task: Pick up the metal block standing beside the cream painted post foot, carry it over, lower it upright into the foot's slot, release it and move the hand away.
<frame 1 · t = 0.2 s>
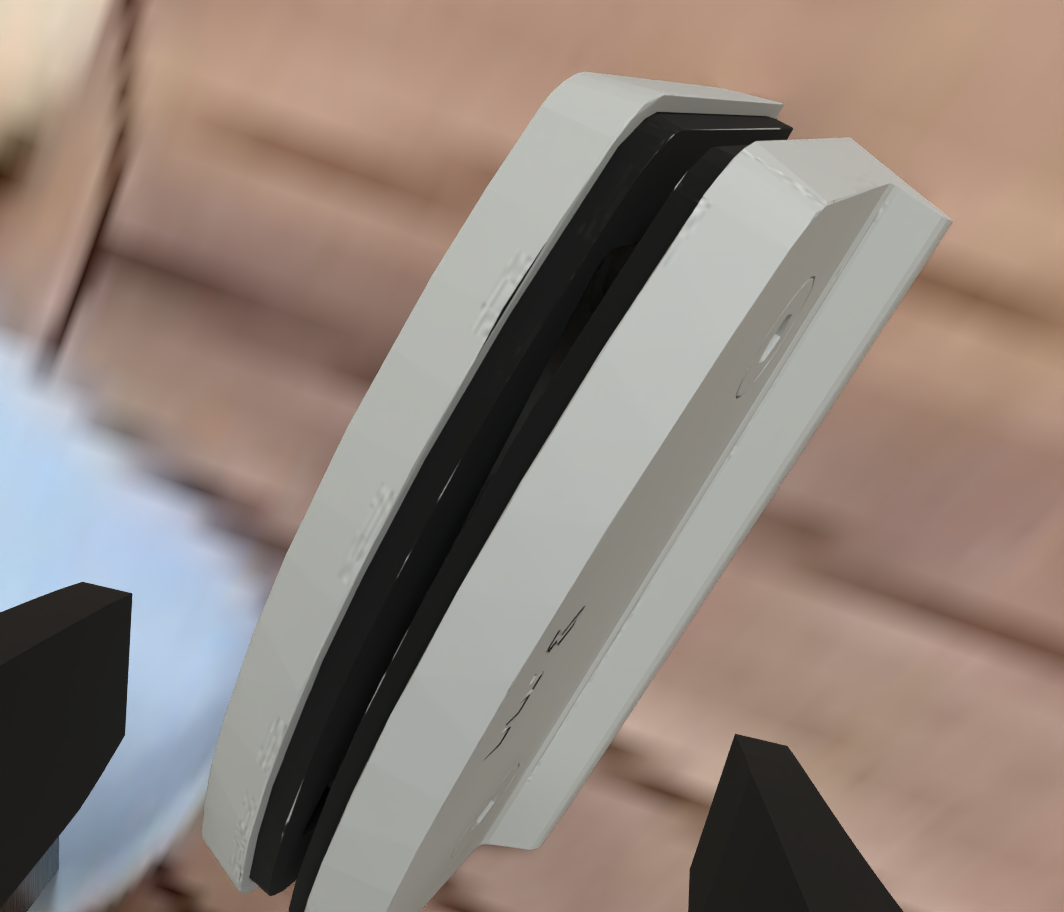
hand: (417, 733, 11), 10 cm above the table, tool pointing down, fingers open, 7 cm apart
metal block: (32, 790, 26), on the table
grey and black device: (574, 470, 21), on the table
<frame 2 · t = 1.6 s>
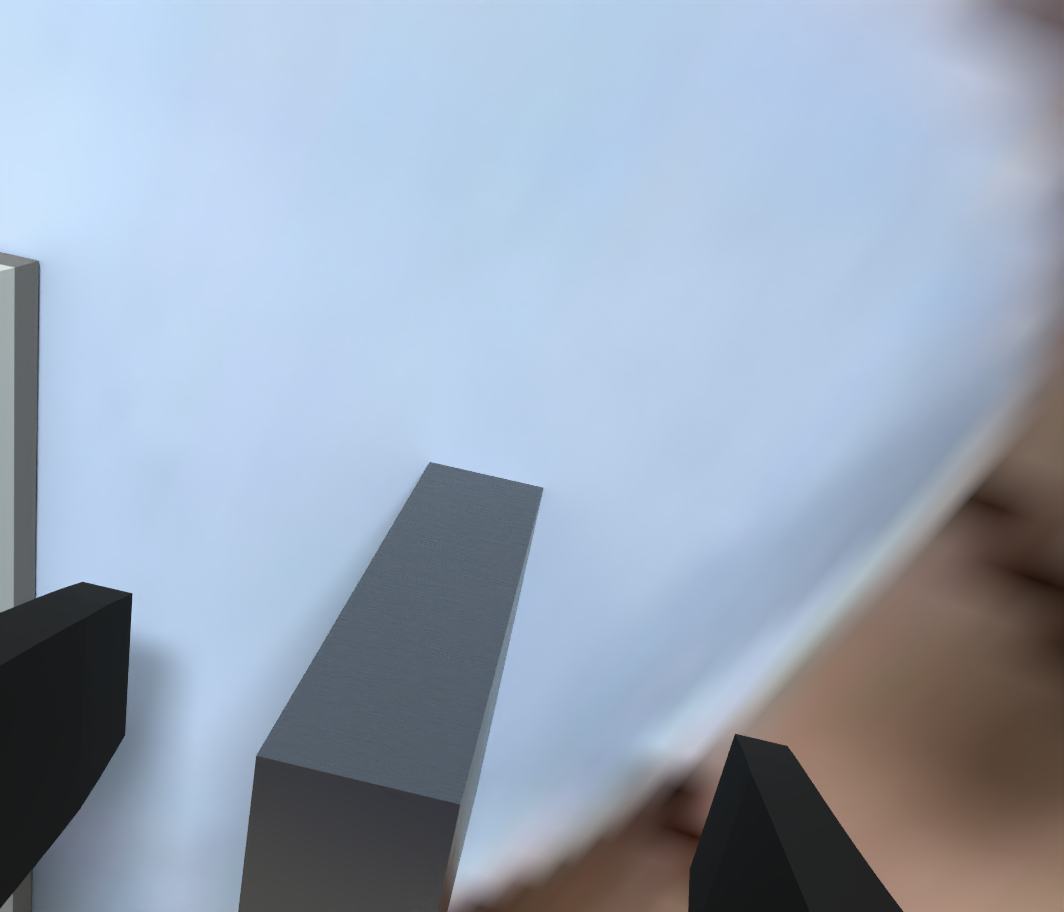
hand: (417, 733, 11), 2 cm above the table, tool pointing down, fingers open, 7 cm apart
metal block: (454, 638, 13), on the table
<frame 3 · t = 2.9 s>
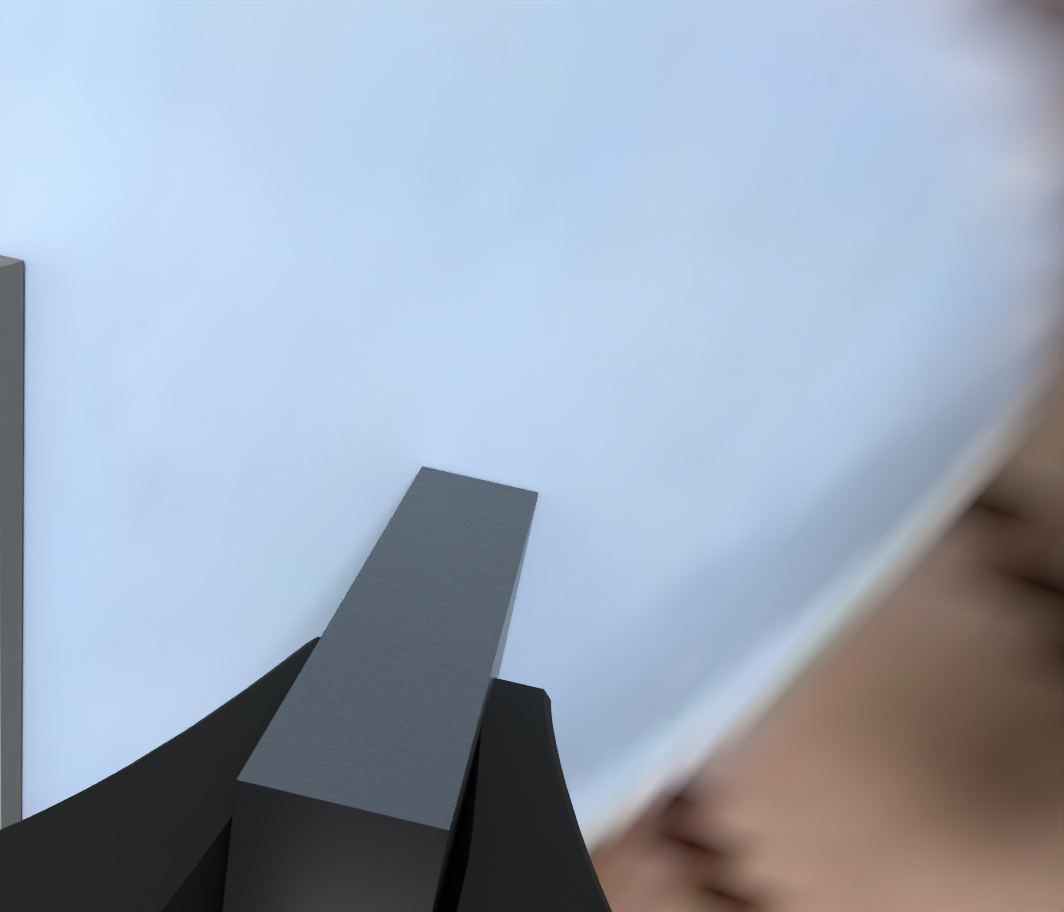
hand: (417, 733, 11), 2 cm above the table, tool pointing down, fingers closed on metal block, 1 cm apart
metal block: (447, 646, 13), on the table, touching gripper
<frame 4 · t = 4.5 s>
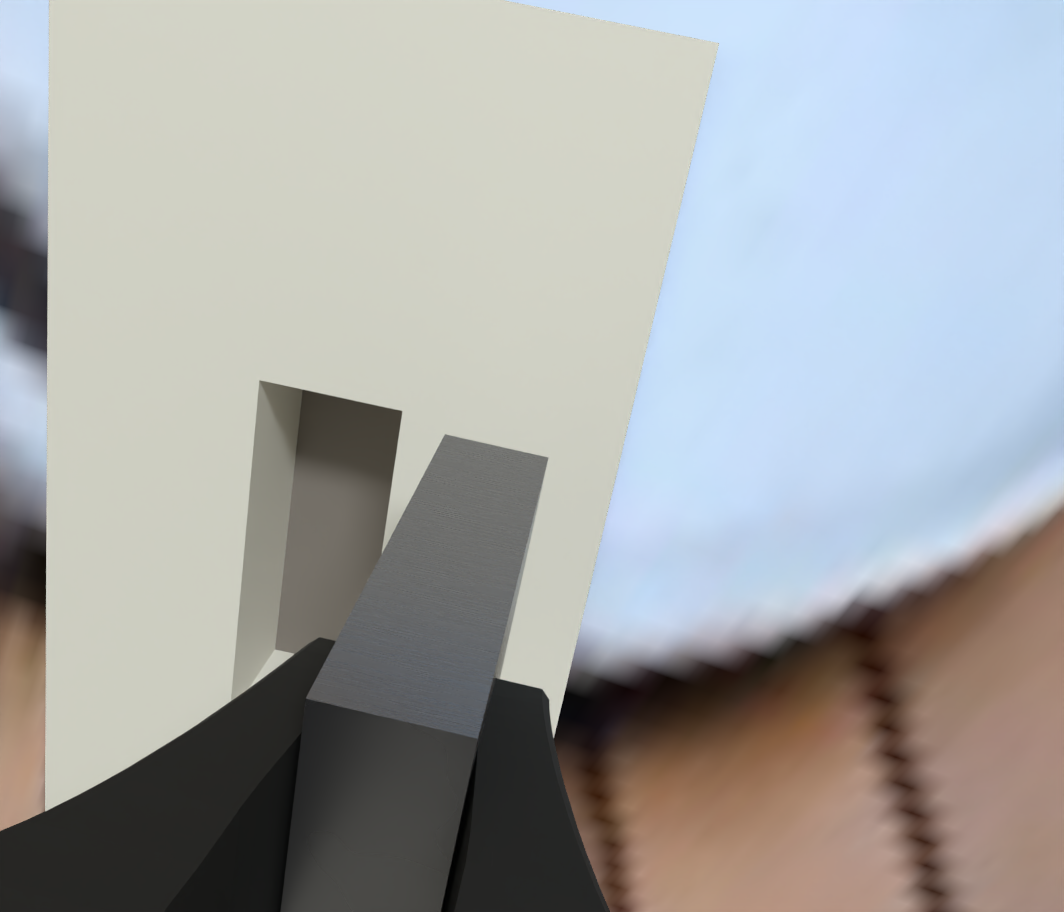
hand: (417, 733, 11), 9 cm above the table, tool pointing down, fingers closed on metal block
post foot: (355, 510, 20), on the table
metal block: (467, 593, 15), point 5 cm above the table, touching gripper
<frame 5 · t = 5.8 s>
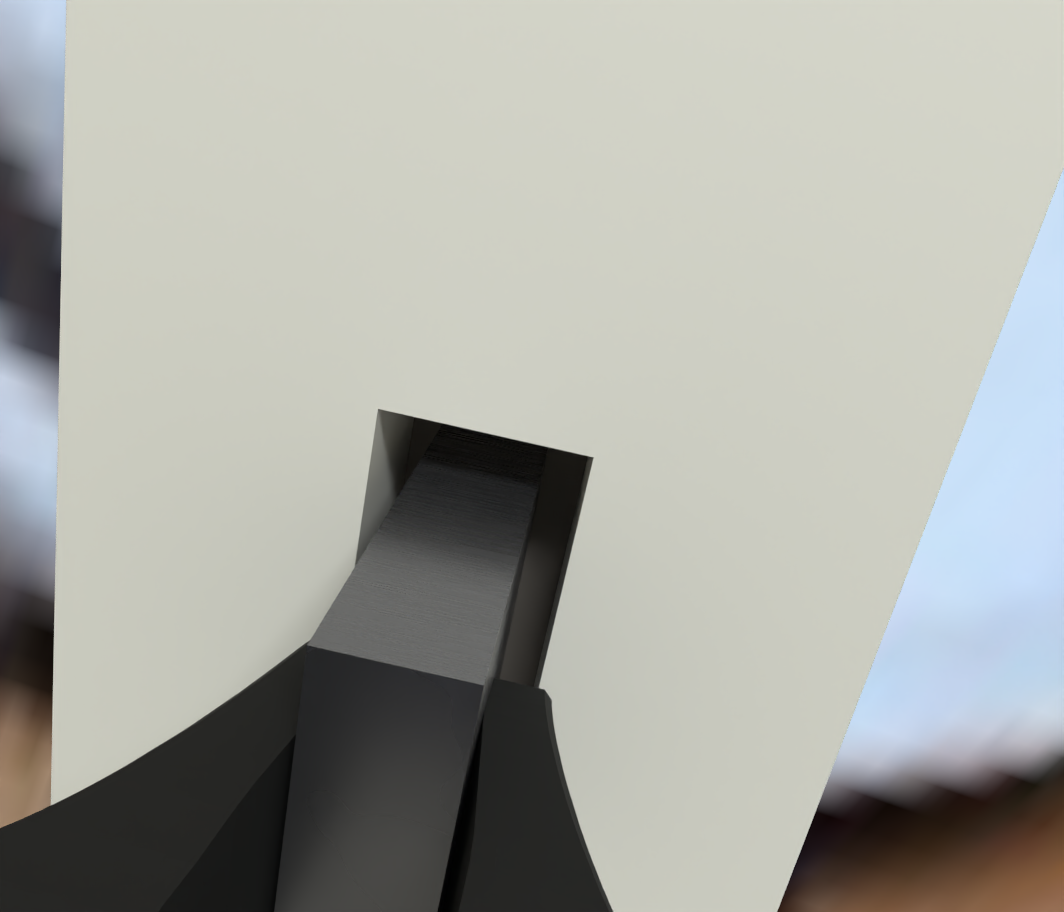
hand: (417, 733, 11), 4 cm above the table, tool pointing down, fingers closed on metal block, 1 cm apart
post foot: (475, 578, 15), on the table
metal block: (468, 584, 15), resting on post foot, touching gripper
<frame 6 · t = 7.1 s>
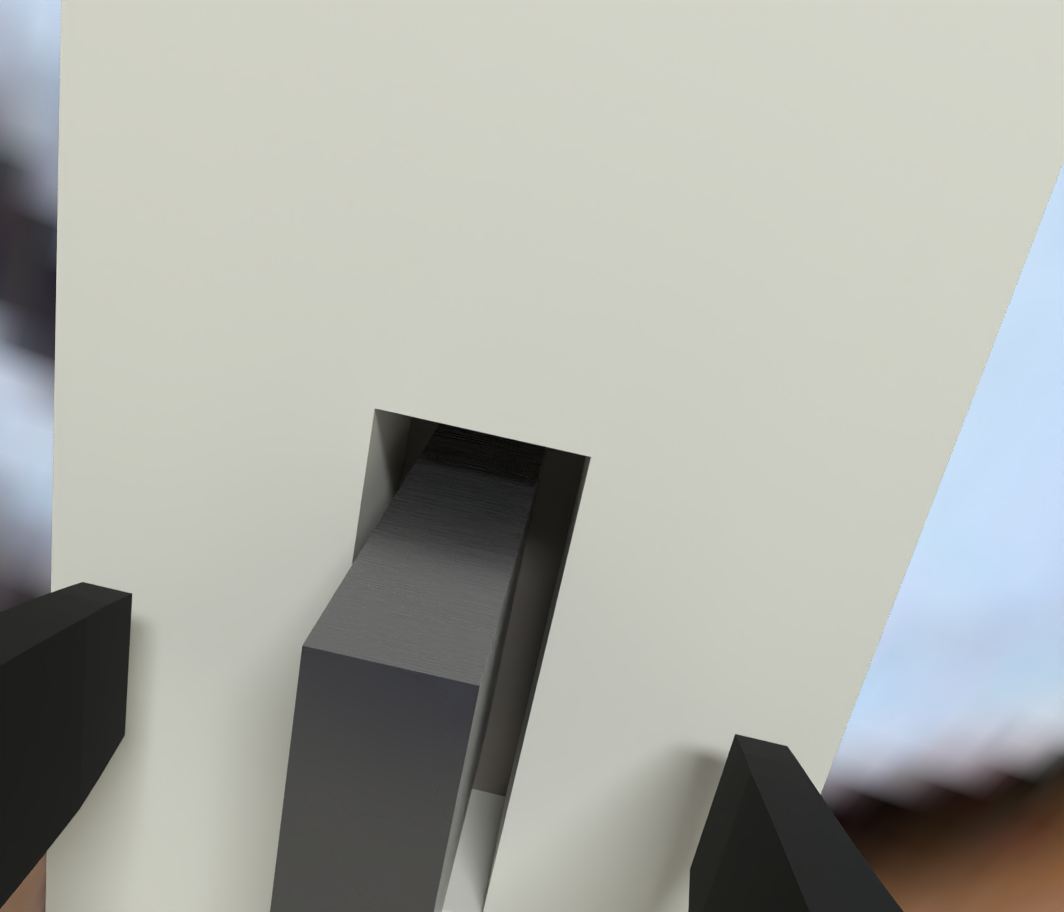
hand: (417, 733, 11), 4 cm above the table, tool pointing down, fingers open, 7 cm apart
post foot: (472, 578, 15), on the table
metal block: (465, 584, 14), resting on post foot
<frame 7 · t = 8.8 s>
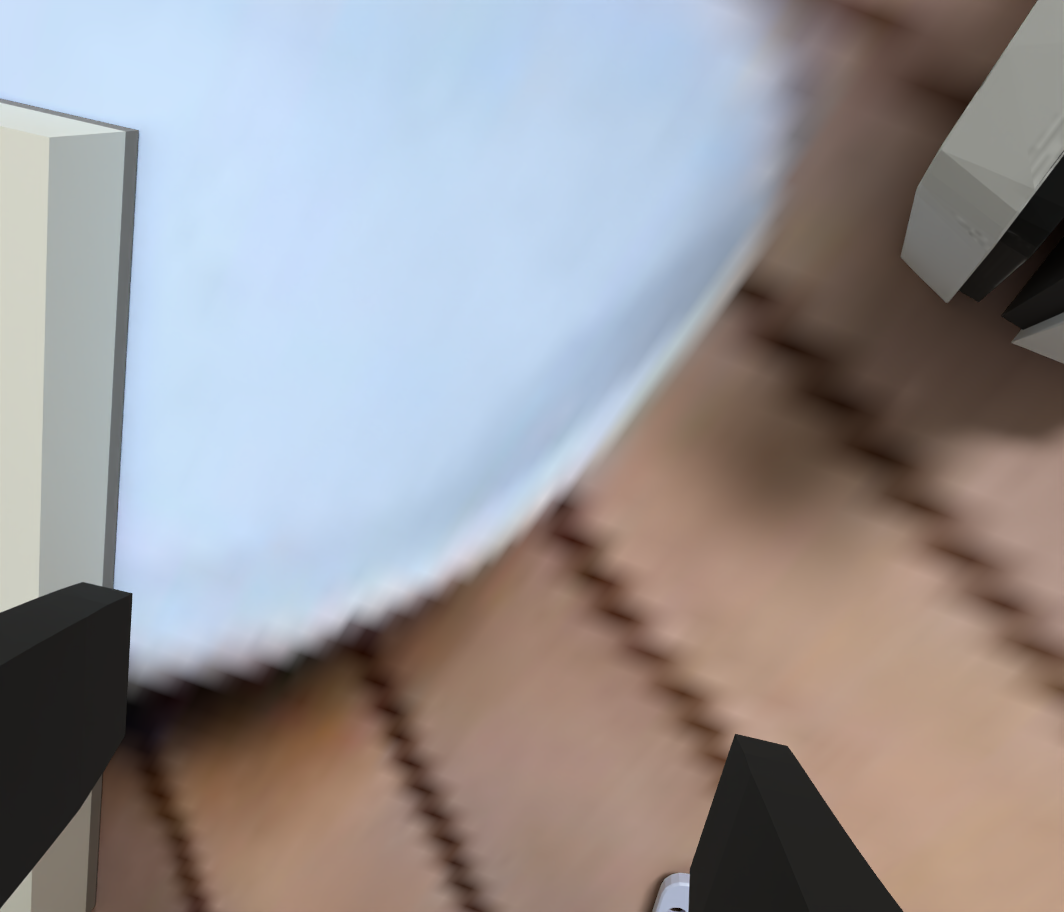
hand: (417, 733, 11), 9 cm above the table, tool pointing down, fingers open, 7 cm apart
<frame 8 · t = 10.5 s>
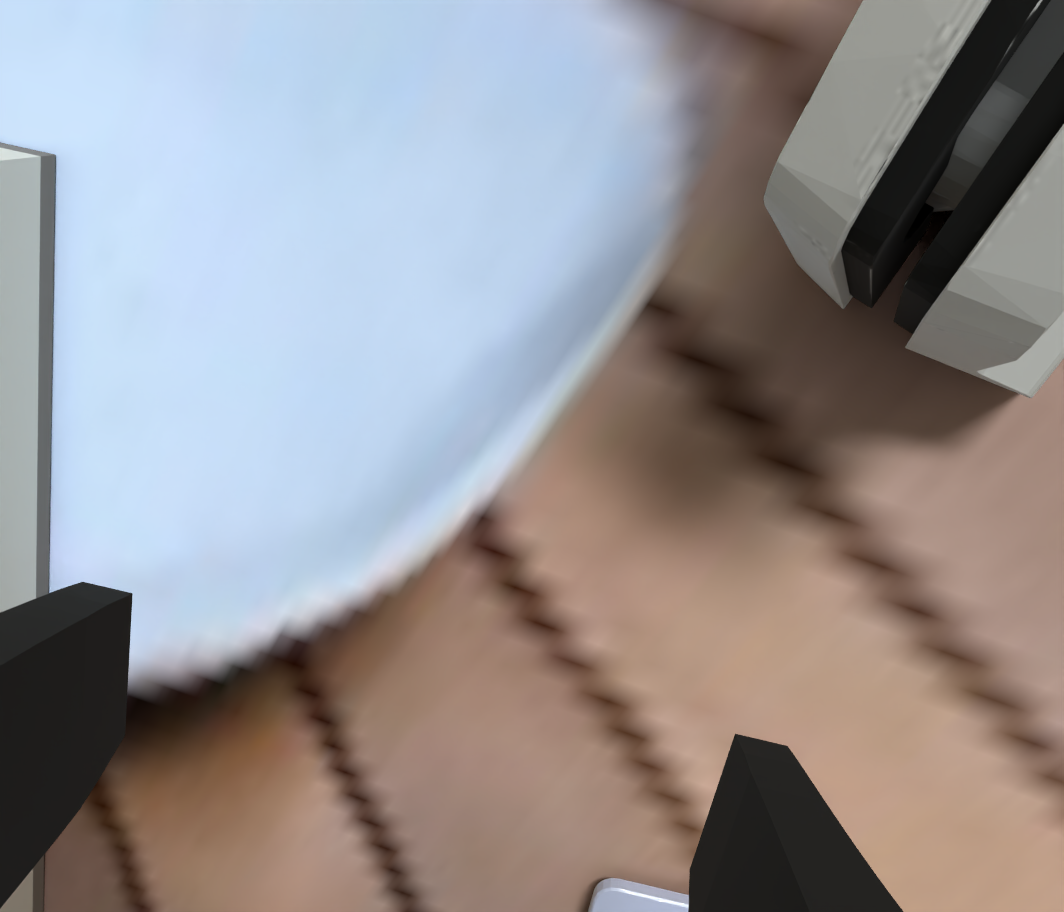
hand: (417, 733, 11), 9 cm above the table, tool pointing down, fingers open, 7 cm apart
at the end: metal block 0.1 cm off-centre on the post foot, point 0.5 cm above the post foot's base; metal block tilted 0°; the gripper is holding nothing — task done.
